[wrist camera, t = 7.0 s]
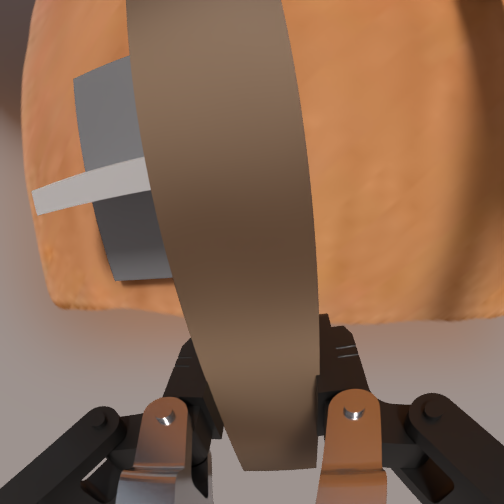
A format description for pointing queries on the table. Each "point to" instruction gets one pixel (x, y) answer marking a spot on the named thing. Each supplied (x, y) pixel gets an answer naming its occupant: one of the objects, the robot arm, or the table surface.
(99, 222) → the stand
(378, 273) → the table surface
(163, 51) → the walnut bar
